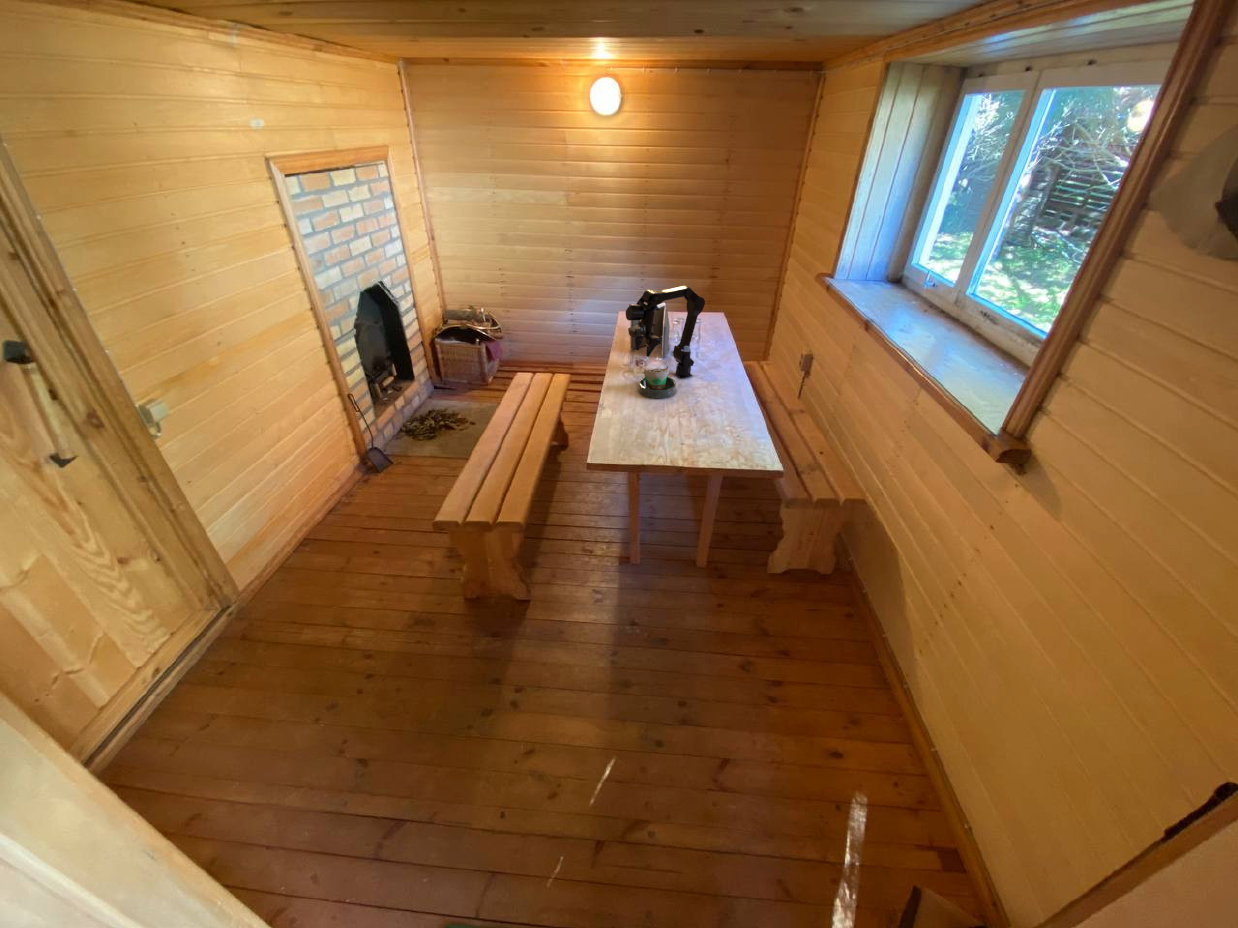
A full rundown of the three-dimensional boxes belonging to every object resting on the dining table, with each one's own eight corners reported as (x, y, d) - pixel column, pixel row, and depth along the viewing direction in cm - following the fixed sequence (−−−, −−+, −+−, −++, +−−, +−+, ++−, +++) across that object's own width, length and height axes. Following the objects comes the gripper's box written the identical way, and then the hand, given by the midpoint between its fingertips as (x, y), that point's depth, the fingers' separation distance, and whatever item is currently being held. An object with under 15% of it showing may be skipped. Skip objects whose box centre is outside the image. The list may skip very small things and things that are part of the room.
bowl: (664, 380, 251) (665, 372, 249) (681, 394, 238) (682, 387, 236) (633, 386, 245) (633, 378, 243) (648, 401, 232) (649, 393, 230)
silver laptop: (668, 359, 272) (671, 323, 261) (628, 357, 273) (629, 322, 262) (668, 335, 301) (670, 302, 290) (631, 334, 302) (632, 301, 291)
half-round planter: (646, 394, 238) (647, 374, 232) (642, 388, 242) (643, 369, 237) (671, 391, 240) (672, 371, 235) (667, 385, 245) (668, 366, 239)
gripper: (621, 314, 232) (617, 347, 240) (642, 326, 218) (637, 361, 226) (642, 314, 237) (637, 346, 245) (664, 325, 224) (658, 359, 231)
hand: (642, 353), depth 237 cm, fingers open, 9 cm apart
